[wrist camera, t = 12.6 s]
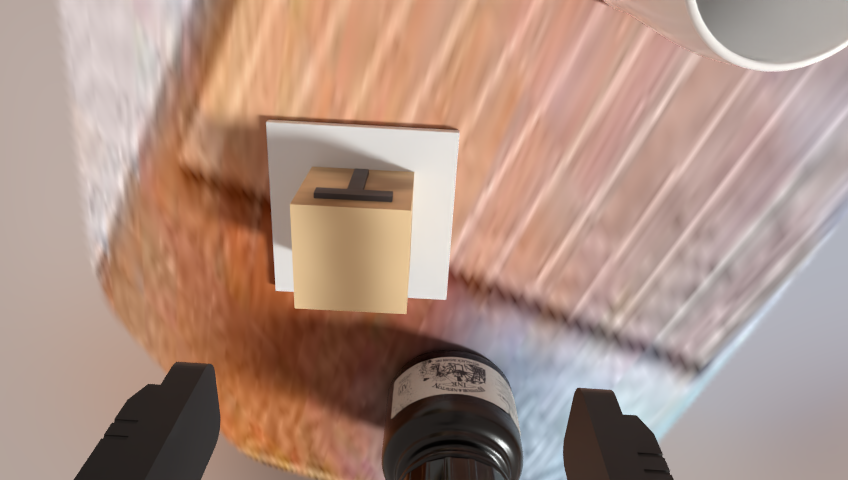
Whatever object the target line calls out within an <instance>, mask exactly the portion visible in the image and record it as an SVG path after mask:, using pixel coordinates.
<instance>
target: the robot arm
mask: <svg viewBox="0 0 848 480" xmlns="http://www.w3.org/2000/svg"><path fill="white" fill-rule="evenodd" d="M219 430H220V410H219V402H218V394H217V385H216V377H215V370H214V367H213V365H212V364H204V363H188V362H176V363H175V364H174V365H173V366H172V367H171V369H170V371H169V372H168V374H167V375H166V377H165V379H164V380H163V382H162V384H161V385H155V384H148V385H146V386H145V387H144V388H142V389H141V390H140V391H138V392H137V393H136V394H135V395H133V396H132V397H131V398H130V399H128V400H127V402H126V403H125V405H124V406H123V407H122V409H121V410H120V412H119V413H118V415H117V416H116V418H115V422H114V423H112V424H111V425H110V427H109V428H108V430H107V431H106V433H105V434H104V438H103V439H101V440H100V441H99V443H98V445H97V446H96V447H95V449H94V451H93V452H92V453H91V455H90V456H89V458H88V459H87V461H86V462H85V464H84V465H83V467H82V468H81V470H80V471H79V473H78V474H77V476H76V477H75V479H74V480H201V478H202V475H203V473H204V471H205V469H206V466H207V464H208V462H209V460H210V457H211V455H212V453H213V450H214V448H215V446H216V443H217V440H218V436H219ZM563 458H564V467H565V472H566V476H567V480H673V477H672V475H670V473H669V472H670V471H669V468H668V466H667V463H666V461H665V459H664V458H663V457H662V452H661V449H660V447H659V445H658V442H657V440H656V438H655V435H654V434H653V432H652V431H651V430H650V429H649V428H648V427H647V426H646V425H645V424H644V423H643V422H642V421H641V420H640V419H639V418H638V416H636V415H623V414H622V412H621V409H620V407H619V404H618V401H617V399H616V396H615V394H614V392H613V391H612V390H603V389H587V388H577V389H576V391H575V393H574V397H573V402H572V406H571V411H570V415H569V420H568V424H567V429H566V433H565V438H564V446H563Z"/></svg>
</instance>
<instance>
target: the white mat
mask: <svg viewBox="0 0 848 480" xmlns="http://www.w3.org/2000/svg"><path fill="white" fill-rule="evenodd" d="M266 131H267V149H268V166H269V183H270V200H271V217H272V234H273V251H274V268H275V286H276V291H290V292H294V283H293V262H292V240H291V218H290V203H291V201H292V200H293V198H294V196H295V195H296V193H297V191H298V190H299V188H300V186H301V184H302V183H303V181H304V179H305V178H306V176H307V174H308V172H309V171H310V169H311V167H329V168H348V169H355V168H358V169H369V170H386V171H405V172H414V191H413V212H412V233H411V255H410V271H409V285H408V298H423V299H442V300H446V296H447V283H448V271H449V258H450V246H451V233H452V221H453V208H454V196H455V183H456V170H457V158H458V145H459V130H447V129H429V128H411V127H393V126H375V125H357V124H339V123H321V122H303V121H286V120H268V121H267V122H266Z"/></svg>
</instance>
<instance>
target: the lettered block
mask: <svg viewBox="0 0 848 480" xmlns="http://www.w3.org/2000/svg"><path fill="white" fill-rule="evenodd" d="M413 191H414V172H405V171H386V170H369V169H358V168H355V169H348V168H329V167H311V169H310V171H309V172H308V174H307V176H306V178H305V179H304V181H303V183H302V184H301V186H300V188H299V190H298V191H297V193H296V195H295V196H294V198H293V200H292V201H291V203H290V218H291V240H292V262H293V283H294V305H295V308H298V309H318V310H338V311H358V312H377V313H397V314H406V312H407V298H408V285H409V271H410V255H411V233H412V212H413Z"/></svg>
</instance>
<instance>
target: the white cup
mask: <svg viewBox="0 0 848 480" xmlns="http://www.w3.org/2000/svg"><path fill="white" fill-rule="evenodd" d="M603 1H604V2H605V3H607V4H608V5H609V6H611V7H612V8H614V9H616V10H618V11H620V12H623V13H626V14H628V15H630V16H631V17H633V18H635V19H636V20H638V21H639V22H641V23H642V24H644V25H645V26H647V27H649V28H650V29H652V30H653V31H655V32H656V33H658V34H659V35H661V36H662V37H664V38H665V39H667V40H668V41H670V42H672V43H674V44H675V45H677V46H679V47H681V48H683V49H685V50H687V51H689V52H692V53H694V54H697V55H700V56H702V57H705V58H708V59H711V60H714V61H718V62H721V63H725V64H729V65H733V66H738V67H743V68H746V69H750V70H757V71H769V72H774V71H786V70H792V69H797V68H801V67H805V66H808V65H811V64H814V63H816V62H819V61H821V60H823V59H826V58H828V57H830V56H831V55H833V54H835V53H837V52H839V51H840V50H842V49H843V48H845V47H846V46H848V0H603Z"/></svg>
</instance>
